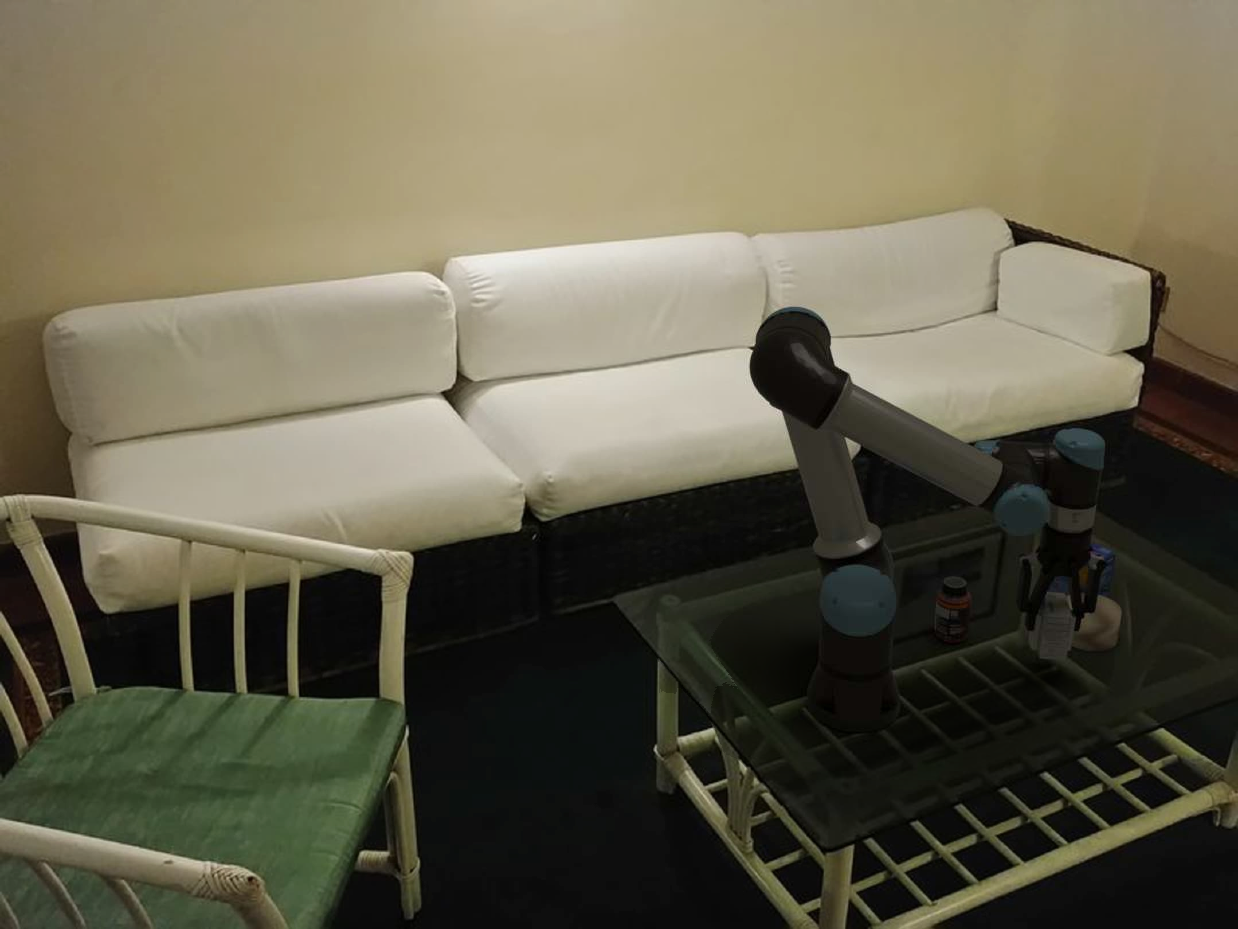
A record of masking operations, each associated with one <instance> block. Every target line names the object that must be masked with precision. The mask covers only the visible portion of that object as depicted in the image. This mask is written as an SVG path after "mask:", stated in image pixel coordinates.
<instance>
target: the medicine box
mask: <svg viewBox="0 0 1238 929" xmlns="http://www.w3.org/2000/svg"><path fill="white" fill-rule="evenodd" d="M1039 613H1040V615H1041V617H1042V619H1041V625H1040V632H1039V639H1038V645H1037V650H1036V651H1037V654H1038V658H1039V659H1043V660H1052V661H1053V660H1054V661H1067V656H1068V652H1069V651H1068V645H1069V639H1070V632H1071V626H1072V619H1073V617H1072V614H1071V610H1070V607H1069V604H1068V601H1067V598H1066V594H1065V593H1057V592H1048V591H1047V594H1046V596H1045V598H1044V600H1043V602H1042V605H1041V607H1040V609H1039Z"/></svg>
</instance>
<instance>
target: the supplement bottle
mask: <svg viewBox="0 0 1238 929" xmlns="http://www.w3.org/2000/svg"><path fill="white" fill-rule="evenodd" d="M967 584H968V583H967V580H965V579H964V578H962V577H960V576H954V575H953V576H948V577H945V578H944V579H943V582H942V587H941V588H940V589H938V591H937V594H936V601H935V603H936V605H935V614H934V615H935V617H934V635H935V637H936V638H938V639H939V640H941V641H942V642H944V643H949V644H958V643H962V642H964V641H966V640H967V639H968V638H969V630H970V617H971V609H972V608H971V607H972V604H971V603H972V595H971V593H970V591H969V590H968V589H967Z"/></svg>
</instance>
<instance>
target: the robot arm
mask: <svg viewBox="0 0 1238 929" xmlns="http://www.w3.org/2000/svg"><path fill="white" fill-rule="evenodd" d="M754 342H755V343H754V346H753V349H752V352H751V354H750V358H749V365H748V368H749V376H750V379H751V381H752V383H753V386H754V388H755V389H756V390H757V393H758V394H759V395H760V396H762V398H763V399H764V400H765V401H767V402H768V403H769V405H770V406H771V407H772V408H774V409H777V410H778V411H781V413H782V414H781V415H782V417H783V420H784V424H785V426H786V429H787V430H786V431H787V433H788V437H789V440H790V444H791V446H792V449H793V453H794V457H795V460H796V463H797V467H798V470H799V474H800V476H801V477H800V478H801V479H802V480H801V481H802V484H803V486H804V490H805V491H804V492H805V494H806V498H807V500H808V504H809V507H810V511H811V513H812V517H813V520H814V523H815V527H816V530H817V534H818V536H817V537H816V539H815V540H814V542H813V546H812V548H813V553H814V556H815V559H816V562H817V565H818V568H819V572H820V574H821V580H822V584H821V590H820V592H819V609H820V611H819V640H818V642H819V643H818V662H817V665H816V667H815V670H814V671H813V674H812V676H811V678H810V681H809V684H808V685H807V691H806V705H807V709H808V711H809V713H810V714H811V715H812V716H813V717H814V719H815V720H817V721H818V722H820V723H822V724H823V725H825V726H827V727H830V728H832V729H834V730H838V731H842V732H846V733H847V732H848V733H860V734H861V733H869V732H870V733H871V732H875V731H879V730H882V729H884V728H887V727H888V726H890V725H891V724H892V723H894V722H895V721H896V719H897V718H898V716H899V713H900V708H901V694H900V691H899V687H898V685H897V681H896V678H895V675H894V671H893V669H892V658H893V646H894V645H893V643H894V642H893V641H894V627H895V626H894V625H895V616H896V615H895V613H896V610H897V595H896V589H895V587H894V586H895V585H894V570H895V568H894V561H893V557H892V554H891V552H890V550H889V548H888V546H887V545H886V543H885V542H884V539H883V535H882V532H881V528H880V527H879V526H877V525H876V524H875V523H871V522H870V521H869V519H868V515H867V512H866V507H865V504H864V500H863V497H862V493H861V490H860V487H859V483H858V480H857V475H856V472H855V469H854V465H853V462H852V458H851V455H850V451H849V446H848V444H847V439H848V440H850V441H852V442H853V443H855V444H858V445H859V446H861V447H863V448H865V449H867V450H869V451H870V452H873V453H875V454H876V455H878V456H881V457H882V458H883V459H886V460H888V461H890V462H891V463H894V464H896V465H897V466H900V467H901V468H903V469H905V470H907V471H909V472H911V473H913V474H914V475H917V476H918V477H921V478H923V479H924V480H926V481H927V482H930V483H932V484H933V485H936V486H937V487H939V488H941V489H944V491H947V492H949V493H951V494H952V495H955V496H956V497H958V498H961V499H962V500H965V501H966V502H968V503H970V504H972V505H974V506H976V507H978V508H980V509H981V510H982V511H985V512H987V513H988V514H990V515H992V516H994V521H995V522H996V523H997V524H998V526H999V527H1000V528H1001V530H1003V531H1004V532H1005V533H1006V534H1009V535H1011V536H1016V537H1026V536H1031V535H1033V534H1035V533H1037V532H1038V531H1040V530H1041V532H1040V541H1039V546H1038V547H1037V549H1036V550H1035V552H1034V553H1031V554H1027V555H1026V554H1025V553H1020V554H1019V555H1018V561H1019V563H1020V573H1019V578H1018V579H1019V580H1018V585H1017V594H1016V600H1015V603H1016V606H1017V608H1018V610H1019V612H1020V613H1025V621H1024V625H1025V628H1026V629H1027V631H1028V641H1027V642H1028V644H1029V646H1030V649H1031V650H1032V651H1038V650H1037V645H1038V639H1039V632H1040V625H1041V619H1042V617H1041V615H1040V613H1039V609H1040V607H1041V605H1042V602H1043V600H1044V598H1045V596H1046V594H1047V592H1048V589H1049V587H1050V585H1051V583H1053V581H1054V579H1055V577H1058V576H1065V577H1068V583H1069V590H1070V598H1071V605H1072V609H1070V610H1071V614H1072V617H1073V619H1072V626H1071V632H1070V639H1069V645H1068V651H1067V652H1069V651H1072V639H1073V633H1074V631H1077V632H1078V631H1079V629H1080V625H1081V619H1083V618H1084V617H1085V615H1084V614H1085V613H1094V612H1095V609H1096V603H1097V597H1098V591H1099V584H1100V578H1101V574H1102V572H1103V570H1104V569H1105V567H1106V565H1107V563H1106V562H1105V560H1104V559H1103V557H1102V556H1101V555H1100V554H1097V555H1092V554H1090V552H1089V548H1090V543H1092V536H1093V530H1094V529H1093V526H1094V523H1095V517H1096V510H1097V504H1098V503H1097V502H1098V497H1099V492H1100V487H1101V486H1100V485H1101V481H1102V479H1101V478H1102V474H1103V469H1104V468H1105V465H1104V463H1105V462H1104V461H1105V452H1106V441H1105V440H1104V438H1103V437H1102V436H1101V435H1100V434H1098V433H1096V432H1095V431H1092V430H1089V429H1084V428H1078V427H1077V428H1075V427H1072V428H1069V429H1068V428H1064V429H1061V430H1059V431H1058V432H1057V433H1056V434H1055V436H1054V439H1053V440H1052V442H1046V443H1041V442H1029V441H1027V442H1025V441H1024V442H1023V441H1009V440H1001V439H996V440H978V441H977V442H976V443H975V444H974V446H972V445H970V444H969V443H968V442H965V441H963V440H961V439H959V438H957V437H956V436H953V435H951V434H949V433H948V432H946V431H944V430H942V429H940V428H938V427H936V426H935V425H932V424H931V423H928V422H927V421H925V420H923V419H921V418H919V417H917V416H915V415H913V414H911V413H910V412H908V411H906V410H904V409H902V408H901V407H899V406H897V405H895V404H893V403H890V402H889V401H888V400H885V399H884V398H882V397H880V396H877V395H876V394H874V393H872V392H870V391H868V390H866V389H864V388H863V387H860V386H859V385H857V384H856V383H853V381H852V377H851V374H850V373H849V372H847V371H845V370H844V369H842V368H839V367H838V366H836V364H835V361H834V360H835V359H834V357H833V353H832V349H831V345H832V335H831V333H830V330H829V327H828V325H827V324H826V322H825V320H824V319H823V318H822V317H821V316H820V315H819V314H818V313H816V312H814V310H811V309H809V308H805V307H802V306H787V307H783V308H779V309H778V310H776V311H773V312H772V313H770V315H769V316H767V318H766V319H765V320H763V322H762V323H761V324H760V326H759V327H758V330H757V331H756V335H755V341H754ZM1045 491H1047V492H1045ZM1037 562H1038V563H1040V565H1041V568H1040V573H1039V576H1038V579H1037V580H1036V582H1035V584H1034V587H1033V590H1032V591H1031V585H1032V578H1033V570H1034V569H1035V567H1036V563H1037ZM1087 563H1088V565H1089V570H1088V576H1087V583H1086V589H1085V595H1084V602H1083V603H1082V598H1081V591H1080V583H1079V581H1080V578H1079V570H1080V569H1082V568H1083V567H1084V566H1085V565H1086V564H1087ZM1030 591H1031V594H1030Z"/></svg>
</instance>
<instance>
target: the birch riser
mask: <svg viewBox="0 0 1238 929" xmlns="http://www.w3.org/2000/svg"><path fill="white" fill-rule="evenodd" d="M1084 595H1085V593H1081V598H1082V603H1083V602H1084ZM1066 598H1067V601H1068V604H1069V607H1070V609H1072V605H1071V598H1070V595H1068V596H1066ZM1122 612H1123V611H1122V608H1121V607H1120V605H1119V604H1118V603H1117V602H1115V601H1114V600H1113V599H1111V598H1110V597H1109V598H1106V597H1104V596H1101V595H1098V597H1097V603H1096V609H1095V612H1094V613H1085V614H1084V615H1085V617H1084V618H1083V619H1081V625H1080V629H1079V631H1078V632H1077V631H1074V633H1073V639H1072V646H1071V648H1072V647H1073V648H1076V649H1079V650H1082V651H1087V652H1104V651H1107V650H1110V649H1113V648H1114V647H1115V646H1116V645H1117V643H1118V638H1119V632H1120V627H1121V618H1122Z"/></svg>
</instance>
